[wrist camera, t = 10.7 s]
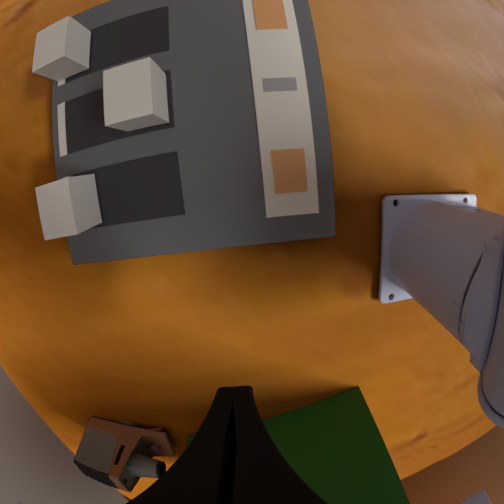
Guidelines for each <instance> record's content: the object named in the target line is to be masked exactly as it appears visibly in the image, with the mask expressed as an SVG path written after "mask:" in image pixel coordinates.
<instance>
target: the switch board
mask: <svg viewBox="0 0 504 504" xmlns="http://www.w3.org/2000/svg"><path fill="white" fill-rule="evenodd" d="M72 18H73V19H74V20H76V21H77V22H79V23H80V24H81V25H83V26H84V27H85V28H87V29H88V30H89V31H91V38H90V54H89V69H87V70H84V71H82V72H79V73H77V74H74V75H72V76H70V77H67V78H65V79H63V80H61V81H59V82H58V81H55V80H52V133H53V149H54V160H55V170H56V178H57V180H60V179H64V178H67V177H73V176H81V175H89V174H95V182H96V189H97V195H98V202H99V208H100V213H101V219H102V223H100V224H98V225H96V226H94V227H92V228H90V229H88V230H86V231H84V232H82V233H80V234H78V235H72V236H67V241H68V245H69V249H70V253H71V257H72V261H73V265H77V264H86V263H95V262H103V261H112V260H121V259H129V258H138V257H147V256H156V255H165V254H174V253H183V252H192V251H201V250H210V249H220V248H229V247H238V246H248V245H257V244H267V243H276V242H286V241H296V240H305V239H315V238H325V237H335V236H336V222H335V198H334V181H333V166H332V154H331V143H330V133H329V123H328V115H327V107H326V99H325V91H324V84H323V78H322V71H321V65H320V59H319V53H318V48H317V42H316V37H315V32H314V27H313V22H312V18H311V13H310V9H309V4H308V0H111V1H108V2H106V3H103V4H101V5H98V6H96V7H93V8H91V9H88V10H86V11H84V12H82V13H79V14H77V15H75V16H73V17H72ZM148 57H150V58H151V59H152V60H153V61H154V62H155V63H156V64H157V65H158V66H159V67H160V69H161V70H162V71H163V72H164V73H165V74H166V87H167V101H168V114H169V123H164V124H159V125H154V126H150V127H145V128H141V129H137V130H132V131H124V130H119V129H115V128H111V127H107V126H105V120H104V98H103V71H105V70H108V69H111V68H114V67H117V66H120V65H123V64H127V63H130V62H134V61H137V60H141V59H145V58H148Z"/></svg>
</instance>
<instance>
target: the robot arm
mask: <svg viewBox="0 0 504 504" xmlns="http://www.w3.org/2000/svg"><path fill="white" fill-rule="evenodd" d="M394 200H396V201H397V204H396V205H395V206H394V205H393V202H394ZM463 200H464V202H463ZM390 294H392V296H391V297H390V298H389V295H390ZM411 298H414V299H415V300H416V301H417V302H418V303H419V304H420V305H421V306H423V307H424V308H425V309H426V310H427V311H428V312H429V313H430V314H431V315H432V316H433V317H434V318H436V319H437V320H438V321H439V322H440V323H441V324H442V325H443V326H444V327H445V328H446V329H447V330H448V331H449V332H450V333H451V334H452V335H453V336H454V337H455V338H456V339H457V340H458V341H459V342H461V343H462V344H463V345H464V347H465V348H466V349H467V350H468V351H469V352H470V362H471V363H472V364H473V365H474V367H475V368H476V369H477V370H478V371H479V372H480V376H479V380H478V388H477V393H478V400H479V402H480V405H481V408H482V409H483V411H484V413H485V414H486V416H487V417H488V418H489V419H490V420H491V421H492V422H493V423H495V424H496V425H498V426H499V427H501V428H504V216H503V215H500V214H497V213H494V212H490V211H487V210H484V209H480V208H477V207H476V196H475V195H474V194H415V195H388V196H385V197H384V198H383V200H382V242H381V266H380V281H379V294H378V299H379V301H380V302H381V303H383V304H386V303H391V302H396V301H401V300H406V299H411ZM18 504H21V503H20V502H19V503H18ZM126 504H328V503H327V502H326V501H325V500H323V499H322V498H321V497H320V496H319V495H318V494H317V493H315V492H314V491H313V490H312V489H311V488H310V487H309V486H308V485H307V484H306V483H305V482H304V481H303V480H302V479H301V477H300V476H299V475H298V474H297V473H296V472H295V471H294V470H293V468H292V467H291V466H290V465H289V463H288V462H287V461H286V460H285V458H284V457H283V455H282V454H281V453H280V451H279V450H278V448H277V447H276V445H275V443H274V442H273V440H272V438H271V437H270V435H269V433H268V431H267V429H266V427H265V425H264V423H263V421H262V419H261V417H260V415H259V412H258V409H257V407H256V404H255V400H254V396H253V389H252V387H251V386H237V387H220V388H219V389H217V392H216V395H215V398H214V400H213V403H212V405H211V407H210V409H209V411H208V413H207V415H206V417H205V419H204V421H203V423H202V425H201V426H200V428H199V430H198V431H197V433H196V434H195V436H194V438H193V439H192V441H191V442H190V444H189V445H188V446H187V448H186V449H185V451H184V452H183V453H182V454H181V456H180V457H179V458H178V459H177V460H176V462H175V463H174V464H173V465H172V466H171V467H170V468H169V469H168V470H167V471H166V472H165V473H164V474H163V475H162V476H161V477H160V478H159V479H158V480H157V481H156V482H154V483H153V484H152V485H151V486H150V487H149V488H147V489H146V490H145V491H144V492H142V493H141V494H139V495H138V496H137V497H135V498H134V499H132V500H131V501H129V502H128V503H126ZM459 504H491V502H490V500H489V498H488V496H487V494H486V492H485V491H484V489H481V490H480V491H478V492H477V493H475V494H473V495H472V496H471V497H469V498H467V499H465V500H464V501H462V502H461V503H459Z"/></svg>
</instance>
